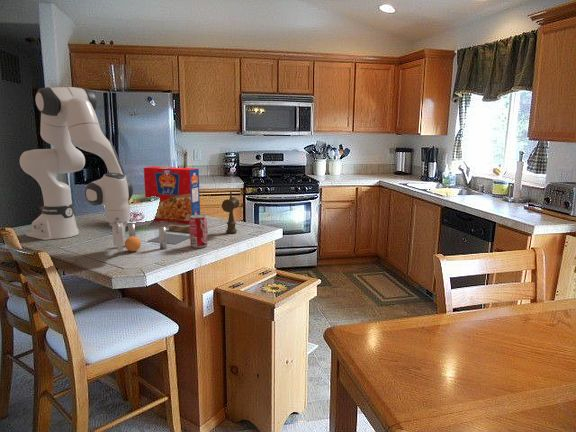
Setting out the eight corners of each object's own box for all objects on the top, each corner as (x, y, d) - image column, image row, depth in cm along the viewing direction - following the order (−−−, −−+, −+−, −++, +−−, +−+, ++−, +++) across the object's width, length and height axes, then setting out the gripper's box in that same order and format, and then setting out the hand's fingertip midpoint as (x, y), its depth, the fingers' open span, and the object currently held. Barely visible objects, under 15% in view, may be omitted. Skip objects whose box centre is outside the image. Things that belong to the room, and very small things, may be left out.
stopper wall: (168, 230, 204) (168, 225, 204) (171, 229, 206) (170, 224, 205) (205, 234, 198) (205, 228, 197) (207, 233, 199) (207, 228, 199)
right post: (158, 249, 173) (157, 227, 171) (162, 247, 176) (161, 226, 174) (164, 249, 172) (163, 228, 170) (167, 248, 175) (166, 226, 173)
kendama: (222, 234, 197) (221, 192, 193) (228, 230, 206) (227, 189, 202) (234, 235, 196) (233, 192, 192) (240, 230, 205) (240, 189, 201)
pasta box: (146, 220, 227) (143, 167, 221) (156, 217, 234) (153, 166, 228) (192, 224, 217) (189, 169, 211) (200, 221, 224) (198, 168, 219)
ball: (126, 232, 169) (136, 237, 174) (119, 246, 167) (129, 251, 172) (136, 236, 166) (146, 241, 171) (129, 250, 165) (139, 255, 170)
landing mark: (147, 241, 185) (147, 240, 184) (166, 233, 198) (166, 233, 197) (175, 244, 180) (175, 243, 180) (192, 236, 193) (192, 236, 193)
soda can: (203, 249, 173) (202, 218, 171) (187, 248, 175) (186, 217, 172) (210, 244, 180) (209, 214, 178) (194, 243, 182) (193, 213, 179)
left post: (128, 245, 178) (126, 224, 176) (132, 243, 180) (130, 223, 178) (133, 246, 177) (131, 225, 175) (137, 244, 180) (136, 223, 178)
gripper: (126, 221, 153) (128, 257, 156) (127, 210, 172) (129, 243, 175) (107, 222, 151) (110, 259, 154) (110, 211, 170) (112, 244, 173)
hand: (120, 250), depth 165 cm, fingers closed
